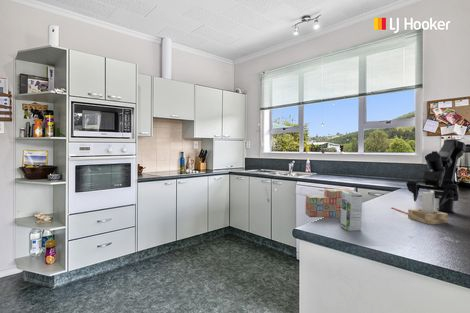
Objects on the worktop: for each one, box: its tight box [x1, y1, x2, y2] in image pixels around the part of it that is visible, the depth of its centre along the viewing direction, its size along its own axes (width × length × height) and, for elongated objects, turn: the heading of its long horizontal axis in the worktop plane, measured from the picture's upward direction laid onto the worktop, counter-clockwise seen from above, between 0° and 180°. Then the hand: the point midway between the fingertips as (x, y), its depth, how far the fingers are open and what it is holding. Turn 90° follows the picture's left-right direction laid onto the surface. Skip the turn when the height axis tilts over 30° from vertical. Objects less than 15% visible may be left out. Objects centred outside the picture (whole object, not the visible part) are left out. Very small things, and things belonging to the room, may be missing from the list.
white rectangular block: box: [421, 191, 435, 213], centre depth 114 cm, size 4×4×12 cm
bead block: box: [407, 208, 449, 225], centre depth 115 cm, size 10×10×4 cm
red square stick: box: [391, 207, 408, 215], centre depth 130 cm, size 14×1×1 cm, turn 1°
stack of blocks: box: [305, 188, 356, 218], centre depth 121 cm, size 21×6×12 cm, turn 93°
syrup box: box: [340, 190, 363, 232], centre depth 102 cm, size 6×6×14 cm
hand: (426, 202), depth 114 cm, fingers open, 9 cm apart
